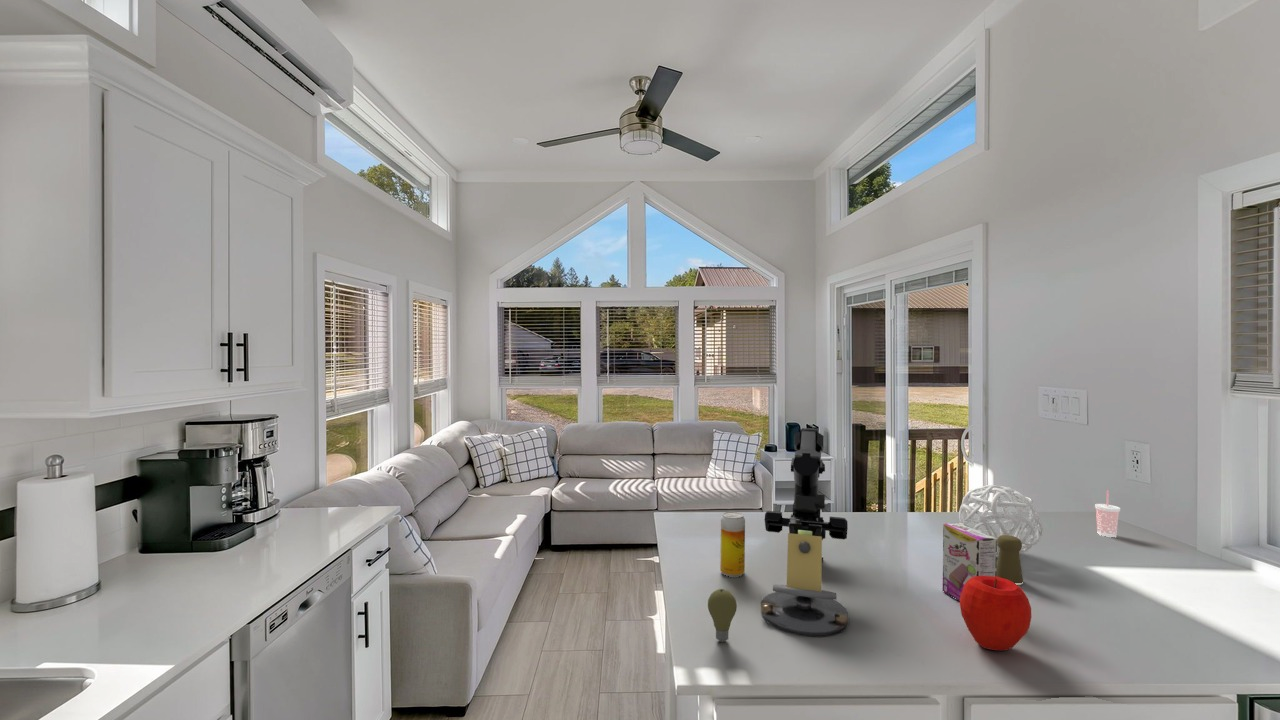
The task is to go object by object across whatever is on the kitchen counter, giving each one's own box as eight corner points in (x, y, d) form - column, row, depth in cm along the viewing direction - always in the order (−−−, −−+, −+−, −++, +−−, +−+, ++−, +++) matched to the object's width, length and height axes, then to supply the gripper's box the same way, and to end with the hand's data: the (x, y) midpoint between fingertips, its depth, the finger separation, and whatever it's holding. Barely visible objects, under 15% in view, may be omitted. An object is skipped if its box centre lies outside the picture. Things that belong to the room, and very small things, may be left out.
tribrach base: (765, 590, 132) (765, 576, 131) (846, 601, 126) (846, 586, 126) (756, 628, 114) (756, 611, 114) (850, 643, 108) (851, 625, 108)
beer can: (744, 579, 138) (744, 519, 138) (719, 577, 139) (720, 517, 139) (744, 569, 144) (745, 512, 144) (720, 567, 145) (721, 510, 145)
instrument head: (774, 589, 127) (776, 529, 132) (835, 597, 123) (835, 535, 128) (770, 591, 116) (773, 526, 120) (837, 601, 112) (837, 532, 116)
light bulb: (704, 634, 111) (705, 584, 111) (732, 633, 112) (732, 583, 112) (710, 649, 106) (711, 597, 105) (739, 648, 106) (740, 596, 106)
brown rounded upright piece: (1020, 578, 140) (1021, 534, 140) (1025, 587, 135) (1026, 542, 134) (992, 573, 143) (993, 531, 142) (996, 582, 137) (997, 538, 137)
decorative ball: (1053, 573, 143) (1055, 499, 143) (965, 563, 149) (967, 492, 149) (1027, 547, 162) (1028, 482, 162) (950, 539, 168) (951, 476, 168)
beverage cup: (1089, 531, 177) (1090, 487, 177) (1110, 532, 176) (1111, 488, 176) (1102, 537, 171) (1103, 492, 171) (1124, 538, 170) (1125, 493, 170)
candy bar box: (940, 592, 132) (941, 522, 131) (959, 590, 132) (960, 522, 132) (976, 614, 121) (978, 538, 120) (997, 612, 121) (998, 537, 121)
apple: (1003, 670, 99) (1004, 596, 99) (944, 639, 110) (945, 571, 110) (1044, 656, 104) (1046, 585, 104) (984, 627, 115) (985, 563, 115)
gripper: (765, 477, 135) (760, 537, 125) (847, 483, 129) (849, 546, 119) (768, 501, 143) (763, 559, 132) (845, 508, 137) (847, 569, 127)
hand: (804, 558), depth 128 cm, fingers closed
